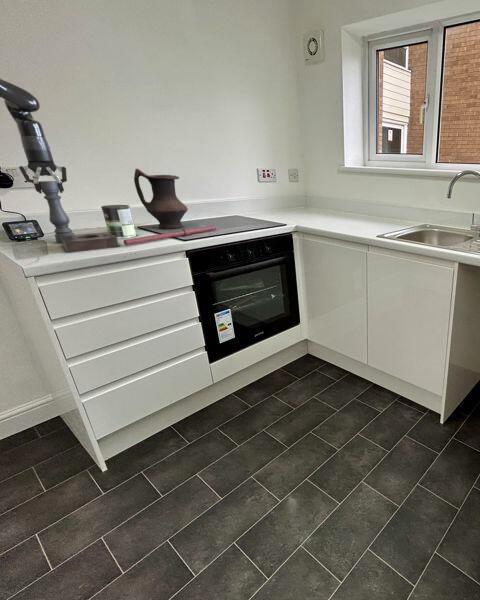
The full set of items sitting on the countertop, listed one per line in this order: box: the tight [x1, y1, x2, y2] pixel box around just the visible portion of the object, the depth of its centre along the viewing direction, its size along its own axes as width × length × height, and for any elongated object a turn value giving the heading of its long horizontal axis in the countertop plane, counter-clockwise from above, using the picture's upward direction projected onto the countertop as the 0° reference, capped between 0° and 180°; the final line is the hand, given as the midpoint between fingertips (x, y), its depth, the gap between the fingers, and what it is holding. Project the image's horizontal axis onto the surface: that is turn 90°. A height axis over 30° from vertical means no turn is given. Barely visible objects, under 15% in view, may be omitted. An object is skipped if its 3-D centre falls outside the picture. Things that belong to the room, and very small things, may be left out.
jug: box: [133, 168, 188, 230], centre depth 185 cm, size 21×18×30 cm
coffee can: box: [100, 204, 137, 240], centre depth 163 cm, size 10×10×14 cm
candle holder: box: [38, 180, 75, 244], centre depth 148 cm, size 6×6×25 cm
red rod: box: [122, 225, 217, 246], centre depth 167 cm, size 45×3×3 cm, turn 157°
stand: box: [60, 231, 120, 253], centre depth 146 cm, size 16×16×4 cm
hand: (50, 192), depth 145 cm, fingers closed on candle holder, 5 cm apart
